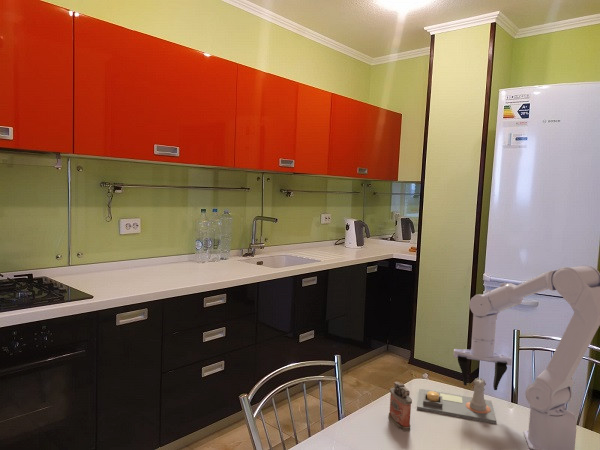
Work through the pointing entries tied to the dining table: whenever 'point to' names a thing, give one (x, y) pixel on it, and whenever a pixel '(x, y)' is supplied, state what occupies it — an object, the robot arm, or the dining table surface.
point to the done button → (432, 396)
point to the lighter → (400, 406)
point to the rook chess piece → (478, 396)
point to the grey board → (455, 406)
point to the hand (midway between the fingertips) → (479, 386)
